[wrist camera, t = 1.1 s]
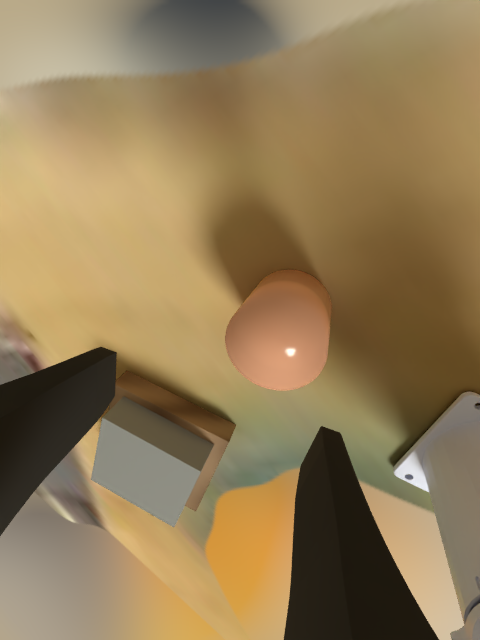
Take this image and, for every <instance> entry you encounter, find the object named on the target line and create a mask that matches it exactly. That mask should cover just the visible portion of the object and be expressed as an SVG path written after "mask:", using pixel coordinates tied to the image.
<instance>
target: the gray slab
mask: <svg viewBox="0 0 480 640" xmlns="http://www.w3.org/2000/svg"><path fill="white" fill-rule="evenodd" d="M213 446H214V444H212V443H210V442H208V441H206V440H205V439H203V438H201V437H199V436H197V435H195V434H193V433H192V432H190V431H188V430H186V429H184V428H182V427H180V426H179V425H177V424H175V423H173V422H171V421H169V420H167V419H166V418H164V417H162V416H160V415H158V414H156V413H154V412H153V411H151V410H149V409H147V408H145V407H143V406H141V405H139V404H137V403H136V402H134V401H132V400H130V399H128V398H126V397H124V396H123V397H122V398H121V399H120V400H119V401H118V402H117V403H116V404H115V405H114V406H113V407H112V408H111V409H110V410H109V411H108V412H107V413H106V414H105V415H104V416H103V417H102V422H101V427H100V433H99V438H98V444H97V450H96V455H95V461H94V466H93V472H92V477H91V480H93V481H94V482H96V483H98V484H100V485H101V486H103V487H105V488H106V489H108V490H110V491H112V492H113V493H115V494H117V495H119V496H120V497H122V498H124V499H126V500H127V501H129V502H131V503H132V504H134V505H136V506H138V507H139V508H141V509H143V510H145V511H146V512H148V513H150V514H152V515H153V516H155V517H157V518H158V519H160V520H162V521H164V522H165V523H167V524H169V525H171V526H172V527H175V524H176V522H177V520H178V518H179V516H180V514H181V512H182V510H183V508H184V506H185V504H186V502H187V500H188V498H189V496H190V494H191V492H192V490H193V488H194V485H195V483H196V481H197V479H198V477H199V475H200V473H201V471H202V469H203V467H204V465H205V463H206V461H207V458H208V456H209V454H210V452H211V450H212V448H213Z"/></svg>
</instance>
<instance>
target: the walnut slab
mask: <svg viewBox="0 0 480 640" xmlns="http://www.w3.org/2000/svg"><path fill="white" fill-rule="evenodd" d="M123 396H124V397H126V398H128V399H130V400H132V401H134V402H136V403H137V404H139V405H141V406H143V407H145V408H147V409H149V410H151V411H153V412H154V413H156V414H158V415H160V416H162V417H164V418H166V419H167V420H169V421H171V422H173V423H175V424H177V425H179V426H180V427H182V428H184V429H186V430H188V431H190V432H192V433H193V434H195V435H197V436H199V437H201V438H203V439H205V440H206V441H208V442H210V443H212V444H214V446H213V448H212V450H211V452H210V454H209V456H208V458H207V461H206V463H205V465H204V467H203V469H202V471H201V473H200V475H199V477H198V479H197V481H196V483H195V485H194V488H193V490H192V492H191V494H190V496H189V498H188V500H187V502H186V504H185V506H187V507H189V508H190V509H192V510H194V511H196V510H197V508H198V506H199V504H200V502H201V500H202V498H203V495H204V493H205V491H206V489H207V487H208V485H209V483H210V481H211V479H212V477H213V474H214V472H215V470H216V468H217V466H218V464H219V462H220V460H221V458H222V456H223V453H224V451H225V449H226V447H227V445H228V443H229V441H230V438H231V436H232V434H233V431H234V429H235V427H236V425H235V424H233V423H231V422H229V421H227V420H225V419H223V418H221V417H219V416H217V415H215V414H213V413H211V412H209V411H207V410H205V409H203V408H201V407H199V406H197V405H195V404H193V403H191V402H189V401H187V400H185V399H183V398H181V397H179V396H177V395H175V394H173V393H171V392H169V391H167V390H165V389H163V388H161V387H159V386H157V385H155V384H153V383H151V382H149V381H147V380H145V379H143V378H141V377H139V376H137V375H135V374H133V373H131V372H129V371H126V372H125V373H124V374H123V375H122V376H121V377H119V378H118V379H117V380H116V383H115V397H114V398H113V400H112V401H111V403H110V405H109V410H110V409H111V408H112V407H113V406H114V405H115V404H116V403H117V402H118V401H119V400H120V399H121V398H122V397H123Z"/></svg>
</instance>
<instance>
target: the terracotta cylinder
mask: <svg viewBox="0 0 480 640" xmlns="http://www.w3.org/2000/svg"><path fill="white" fill-rule="evenodd" d="M331 314H332V305H331V300H330V296H329V294H328V292H327V290H326V289H325V287H324V286H323V285H322V284H321V282H319V281H318V280H317V279H316V278H314V277H313V276H311V275H309V274H307V273H305V272H302V271H298V270H280V271H277V272H274V273H272V274H269V275H268V276H266V277H265V278H264V279H263V280H261V281H260V283H259V284H258V285H257V286H256V287H255V289H254V290H253V291H252V293H251V294H250V295H249V296H248V298H247V299H246V300H245V301H244V303H243V304H242V305H241V307H240V308H239V309H238V310H237V312H236V313H235V314H234V315H233V317H232V318H231V320H230V322H229V324H228V326H227V330H226V336H225V343H226V349H227V353H228V355H229V358H230V360H231V362H232V363H233V365H234V366H235V368H236V369H237V370H238V371H239V372H240V373H241V374H242V375H243V376H244V377H245V378H247V379H248V380H250V381H251V382H253V383H255V384H257V385H259V386H261V387H264V388H268V389H272V390H293V389H297V388H300V387H303V386H305V385H307V384H309V383H310V382H312V381H313V380H314V379H315V378H316V377H317V376H318V375H319V374H320V373H321V371H322V370H323V368H324V366H325V363H326V360H327V355H328V346H329V335H330V325H331Z"/></svg>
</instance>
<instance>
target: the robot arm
mask: <svg viewBox="0 0 480 640" xmlns="http://www.w3.org/2000/svg"><path fill="white" fill-rule="evenodd" d="M116 353H117V352H114V351H111V350H108V349H105V348H103V347H99V348H96V349H93V350H91V351H88V352H86V353H83V354H81V355H78V356H76V357H73V358H71V359H68V360H66V361H63V362H61V363H58V364H56V365H53V366H51V367H48V368H46V369H43V370H40V371H38V372H35V373H33V374H30V375H27V376H24V377H21V378H19V379H16V380H13V381H10V382H7V383H4V384H2V385H0V536H1V534H2V533H3V532H4V530H5V528H6V527H7V526H8V525H9V523H10V522H11V521H12V519H13V518H14V517H15V515H16V514H17V513H18V512H19V510H20V509H21V508H22V506H23V505H24V504H25V502H26V501H27V500H28V499H29V497H30V496H31V495H32V493H33V492H34V491H35V490H36V488H37V487H38V486H39V485H40V484H41V483H42V481H43V480H44V479H45V478H46V477H47V476H48V474H49V473H50V472H51V471H52V470H53V469H54V468H55V467H56V466H57V465H58V464H59V463H60V461H61V460H62V459H63V458H64V457H65V456H66V455H67V454H68V453H69V452H70V451H71V449H72V448H73V447H74V446H75V445H76V444H77V443H78V442H79V441H80V440H81V439H82V437H83V436H84V435H85V434H86V433H87V432H88V431H89V430H90V429H91V428H92V426H93V425H94V424H95V423H96V422H97V421H98V419H99V418H100V417H101V415H102V414H103V413H104V411H105V410H106V408H107V407H108V406H109V404H110V403H111V401H112V400H113V398H114V397H115V383H116ZM476 403H480V395H479V394H477V393H474V392H465V393H462V394H461V395H460V396H459V397H458V398H457V399H456V400H455V401H454V402H453V403H452V405H451V406H450V407H449V408H448V409H447V410H446V411H445V412H444V413H443V414H442V415H441V416H440V417H439V418H438V420H437V421H436V422H435V423H434V424H433V425H432V426H431V427H430V428H429V429H428V430H427V431H426V432H425V433H424V435H423V436H422V437H421V438H420V439H419V440H418V441H417V442H416V443H415V444H414V445H413V446H412V447H411V448H410V450H409V451H408V452H407V453H406V454H405V455H404V456H403V457H402V458H401V459H400V460H399V461H398V462H397V464H396V465H395V466H394V467H393V471H394V474H395V476H397V477H398V478H400V479H403V480H405V481H407V482H409V483H411V484H413V485H415V486H417V487H419V488H421V489H423V490H425V491H427V492H429V493H430V497H431V500H432V504H433V508H434V512H435V516H436V519H437V523H438V526H439V530H440V534H441V538H442V542H443V545H444V550H445V553H446V557H447V561H448V565H449V568H450V572H451V576H452V580H453V584H454V587H455V591H456V595H457V599H458V602H459V606H460V610H461V614H462V618H463V621H464V626H463V627H462V628H461V629H459V630H457V631H454V632H451V633H450V635H451V638H452V640H480V405H479V406H476V405H475V404H476ZM406 474H411V475H406ZM289 598H290V599H289V605H288V613H287V620H286V628H285V635H284V640H439V639H438V637H437V636H436V634H435V632H434V631H433V629H432V628H431V626H430V624H429V623H428V621H427V619H426V618H425V616H424V614H423V612H422V611H421V609H420V607H419V605H418V604H417V602H416V600H415V598H414V597H413V595H412V593H411V591H410V590H409V588H408V586H407V584H406V582H405V580H404V578H403V576H402V575H401V573H400V571H399V569H398V567H397V565H396V563H395V561H394V559H393V558H392V555H391V553H390V551H389V549H388V547H387V545H386V543H385V541H384V539H383V537H382V535H381V533H380V531H379V529H378V526H377V524H376V522H375V520H374V517H373V515H372V513H371V511H370V508H369V506H368V503H367V501H366V499H365V496H364V494H363V491H362V489H361V487H360V484H359V482H358V479H357V477H356V474H355V471H354V469H353V466H352V463H351V461H350V458H349V455H348V452H347V450H346V447H345V444H344V441H343V438H342V436H341V434H340V433H339V432H336V431H334V430H331V429H328V428H325V427H323V426H321V427H320V429H319V431H318V433H317V435H316V437H315V439H314V441H313V443H312V445H311V447H310V449H309V451H308V453H307V455H306V457H305V459H304V461H303V462H302V464H301V467H300V473H299V479H298V485H297V492H296V498H295V514H294V532H293V552H292V571H291V586H290V597H289Z"/></svg>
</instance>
